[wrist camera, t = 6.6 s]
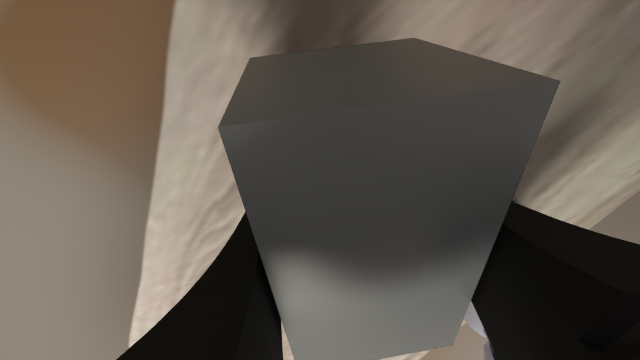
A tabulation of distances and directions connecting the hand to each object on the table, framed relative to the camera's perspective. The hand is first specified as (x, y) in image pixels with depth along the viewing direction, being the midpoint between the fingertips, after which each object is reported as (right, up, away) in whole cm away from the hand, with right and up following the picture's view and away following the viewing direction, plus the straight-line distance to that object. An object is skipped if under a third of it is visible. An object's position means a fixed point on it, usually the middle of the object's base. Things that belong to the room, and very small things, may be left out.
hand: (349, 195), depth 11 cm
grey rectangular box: (0, +1, +1) cm, 2 cm away
